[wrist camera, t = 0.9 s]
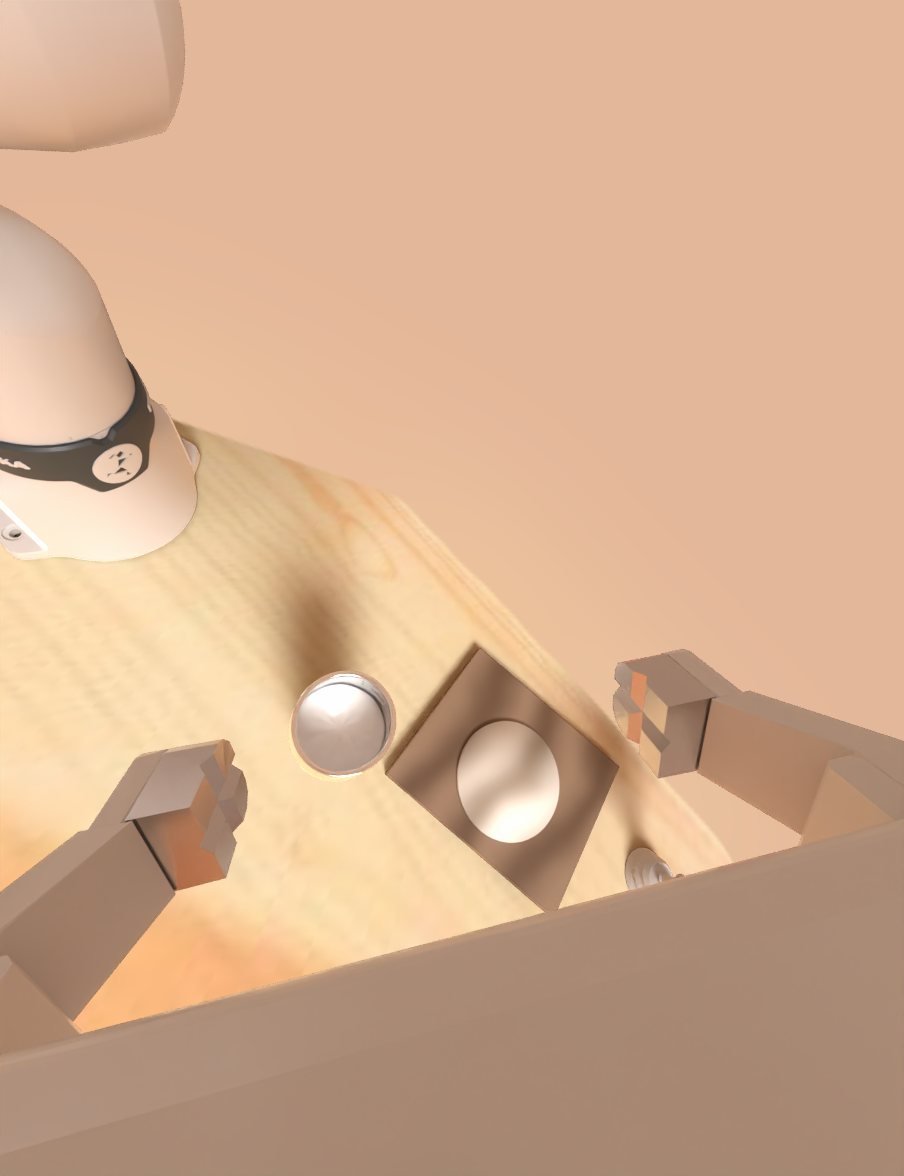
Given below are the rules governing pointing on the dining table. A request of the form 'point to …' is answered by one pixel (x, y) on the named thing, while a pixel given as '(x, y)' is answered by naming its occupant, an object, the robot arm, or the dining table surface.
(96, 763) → the dining table surface
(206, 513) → the dining table surface
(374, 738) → the beer glass
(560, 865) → the walnut board
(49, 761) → the dining table surface
